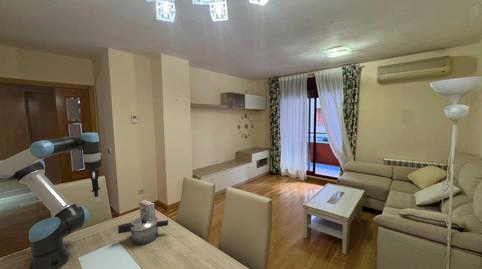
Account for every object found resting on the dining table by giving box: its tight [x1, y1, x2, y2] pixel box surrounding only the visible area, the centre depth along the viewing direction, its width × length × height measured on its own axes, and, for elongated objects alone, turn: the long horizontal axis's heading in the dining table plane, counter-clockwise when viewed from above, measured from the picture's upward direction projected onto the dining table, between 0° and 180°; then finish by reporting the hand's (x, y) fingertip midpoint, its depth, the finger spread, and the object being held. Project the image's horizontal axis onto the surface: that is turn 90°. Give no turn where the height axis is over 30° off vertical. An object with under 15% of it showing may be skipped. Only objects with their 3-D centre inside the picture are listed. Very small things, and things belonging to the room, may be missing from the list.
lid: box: [117, 215, 159, 232], centre depth 120 cm, size 22×16×3 cm
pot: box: [118, 219, 169, 247], centre depth 122 cm, size 28×15×9 cm, turn 106°
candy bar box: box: [138, 199, 156, 218], centre depth 136 cm, size 11×5×16 cm, turn 58°
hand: (97, 201), depth 109 cm, fingers closed
